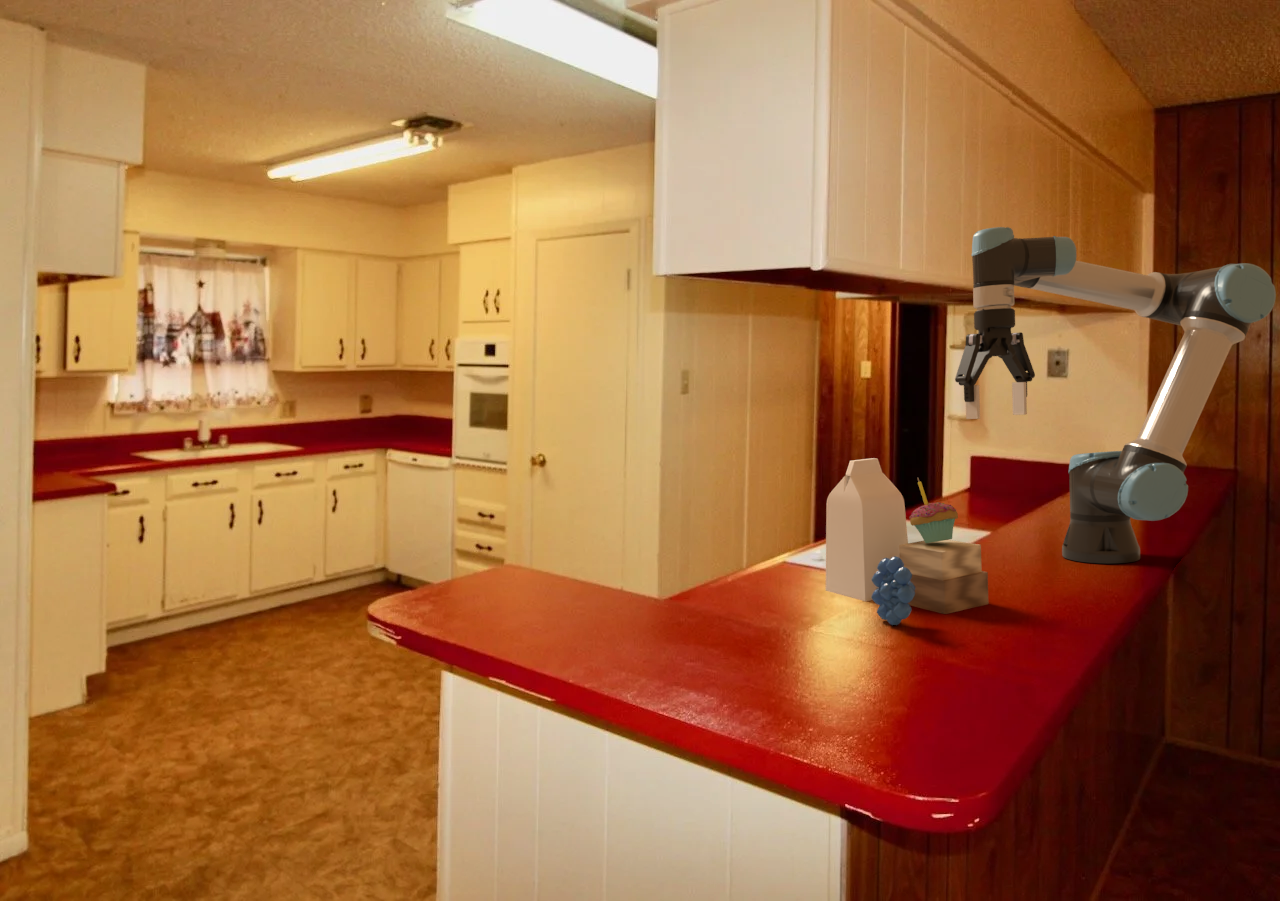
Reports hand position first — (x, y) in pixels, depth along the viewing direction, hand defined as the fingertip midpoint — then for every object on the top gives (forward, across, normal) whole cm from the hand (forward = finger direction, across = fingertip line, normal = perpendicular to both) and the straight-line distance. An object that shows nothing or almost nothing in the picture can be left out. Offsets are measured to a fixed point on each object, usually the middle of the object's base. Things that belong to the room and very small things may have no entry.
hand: (996, 416), depth 176 cm
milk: (+33, -26, +10) cm, 43 cm away
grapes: (+33, -39, -11) cm, 52 cm away
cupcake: (+22, -23, -5) cm, 32 cm away
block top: (+27, -23, -6) cm, 36 cm away
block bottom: (+33, -23, -6) cm, 40 cm away
